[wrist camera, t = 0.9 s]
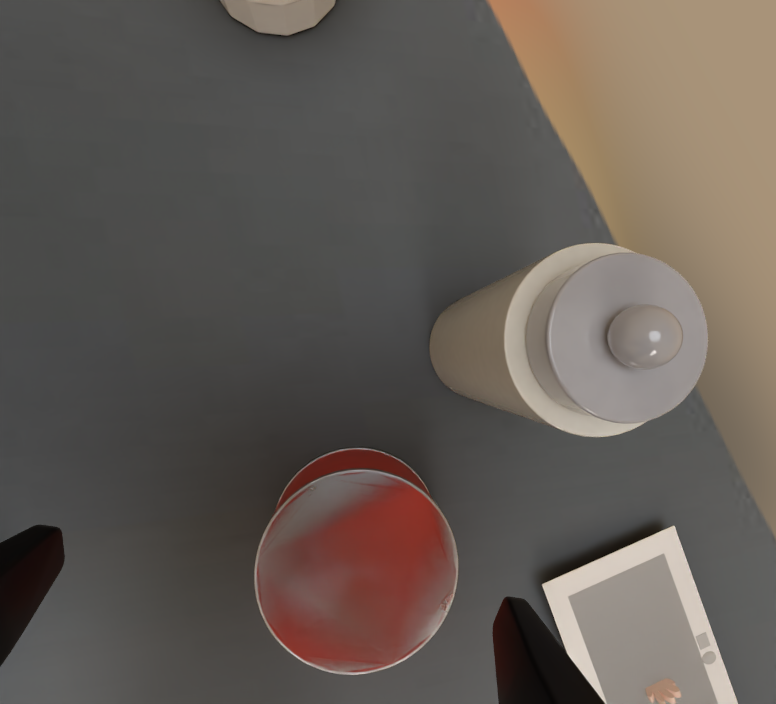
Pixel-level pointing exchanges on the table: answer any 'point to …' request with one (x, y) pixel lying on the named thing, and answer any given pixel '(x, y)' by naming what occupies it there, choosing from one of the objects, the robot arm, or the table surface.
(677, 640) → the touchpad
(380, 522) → the sauce tin
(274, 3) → the white cup
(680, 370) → the pepper mill
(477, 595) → the table surface
